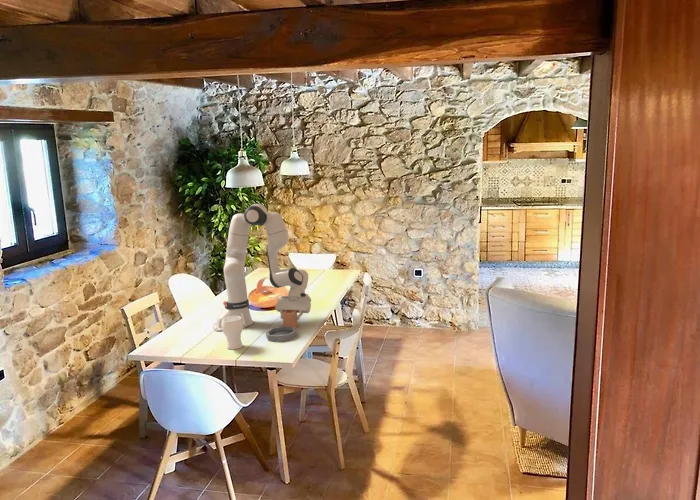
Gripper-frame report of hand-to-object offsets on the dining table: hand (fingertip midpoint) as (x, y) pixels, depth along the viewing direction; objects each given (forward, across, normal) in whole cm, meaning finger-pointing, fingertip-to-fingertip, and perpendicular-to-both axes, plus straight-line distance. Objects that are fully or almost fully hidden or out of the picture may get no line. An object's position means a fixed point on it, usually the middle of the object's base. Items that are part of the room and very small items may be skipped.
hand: (289, 318), depth 318 cm
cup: (+27, -16, -19) cm, 37 cm away
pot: (+3, 0, +4) cm, 5 cm away
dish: (+14, +2, -7) cm, 15 cm away
